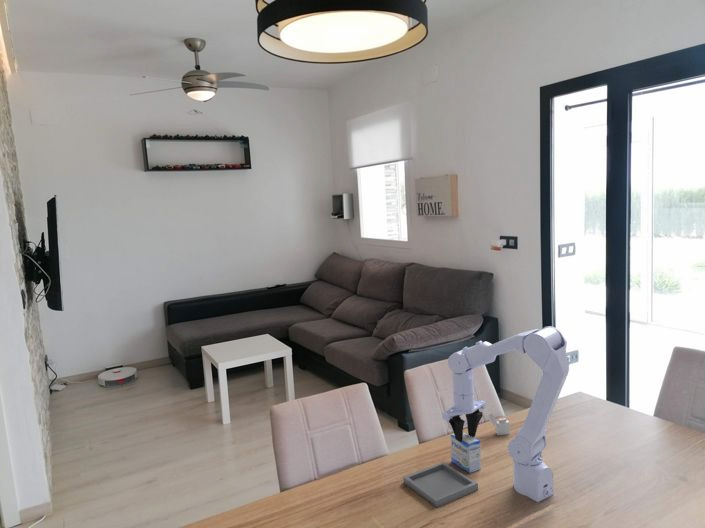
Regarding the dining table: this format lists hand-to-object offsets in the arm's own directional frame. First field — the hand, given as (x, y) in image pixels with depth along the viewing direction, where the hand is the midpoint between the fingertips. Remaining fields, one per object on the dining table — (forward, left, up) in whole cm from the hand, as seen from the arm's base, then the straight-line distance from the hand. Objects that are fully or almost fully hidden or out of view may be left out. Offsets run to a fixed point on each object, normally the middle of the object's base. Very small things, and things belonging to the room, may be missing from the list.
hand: (465, 438), depth 143 cm
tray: (-4, +13, -8) cm, 16 cm away
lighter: (+9, -22, -9) cm, 25 cm away
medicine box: (0, 0, -9) cm, 9 cm away
